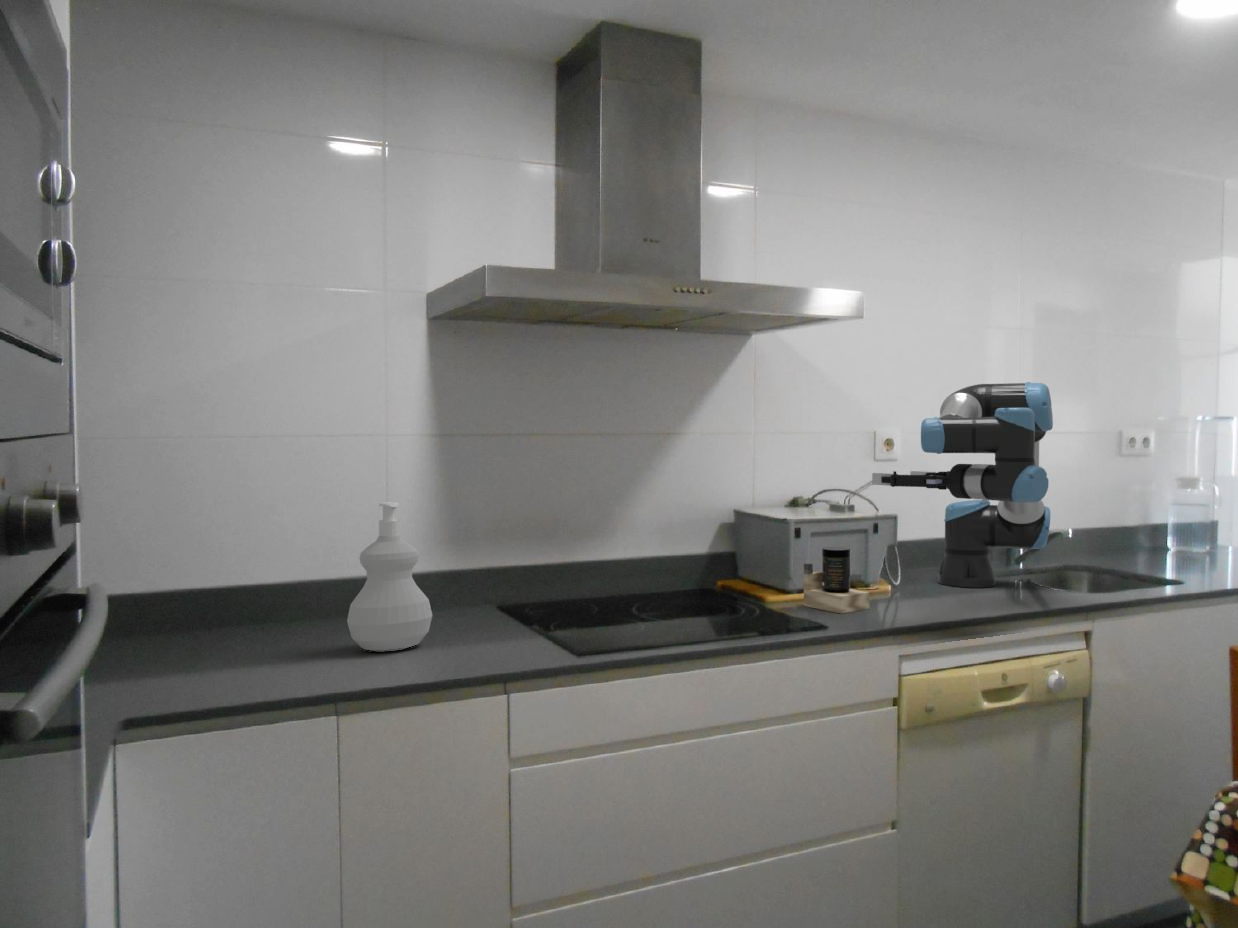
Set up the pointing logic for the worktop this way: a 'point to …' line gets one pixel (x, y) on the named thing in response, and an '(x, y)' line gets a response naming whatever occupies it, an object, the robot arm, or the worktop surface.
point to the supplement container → (836, 569)
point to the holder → (831, 595)
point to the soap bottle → (389, 592)
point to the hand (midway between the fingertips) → (892, 477)
